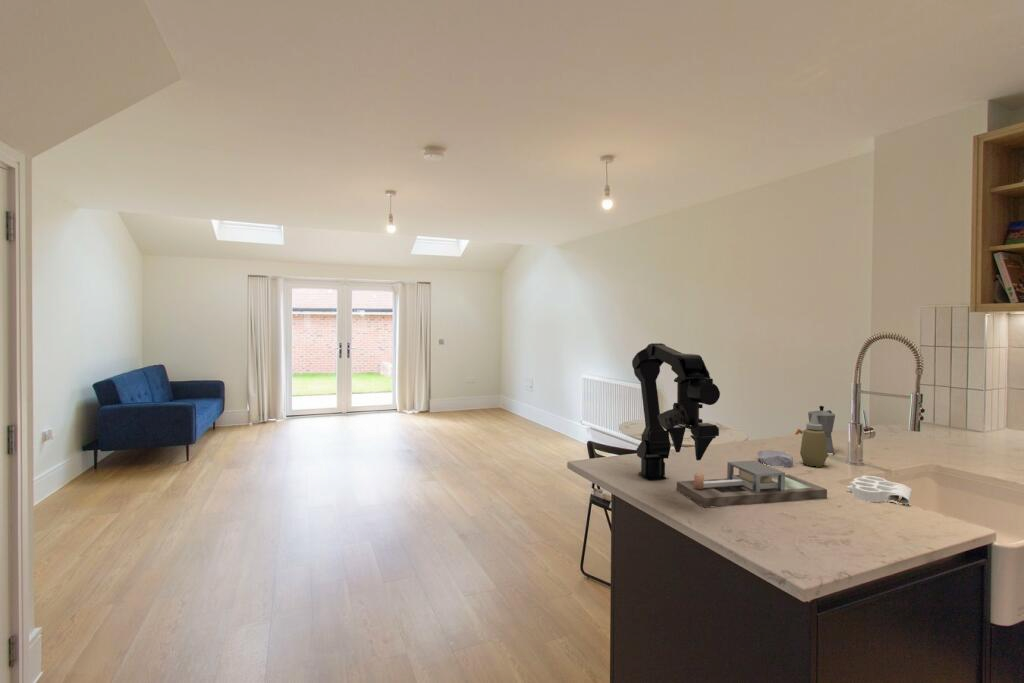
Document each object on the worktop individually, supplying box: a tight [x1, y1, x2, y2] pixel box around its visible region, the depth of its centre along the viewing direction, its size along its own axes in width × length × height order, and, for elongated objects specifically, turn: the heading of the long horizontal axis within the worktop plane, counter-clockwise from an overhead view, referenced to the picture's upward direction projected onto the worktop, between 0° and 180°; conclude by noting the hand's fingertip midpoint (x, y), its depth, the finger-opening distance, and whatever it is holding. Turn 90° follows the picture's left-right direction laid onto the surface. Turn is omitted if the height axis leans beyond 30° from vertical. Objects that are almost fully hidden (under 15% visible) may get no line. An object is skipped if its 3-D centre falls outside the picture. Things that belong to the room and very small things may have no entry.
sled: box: [694, 472, 778, 490], centre depth 137 cm, size 23×8×4 cm, turn 101°
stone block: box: [757, 449, 794, 468], centre depth 171 cm, size 12×5×10 cm
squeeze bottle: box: [799, 414, 828, 468], centre depth 168 cm, size 8×8×18 cm
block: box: [738, 469, 772, 484], centre depth 138 cm, size 6×6×4 cm
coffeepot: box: [807, 405, 836, 454], centre depth 186 cm, size 15×9×18 cm, turn 126°
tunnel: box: [726, 460, 786, 493], centre depth 138 cm, size 9×12×5 cm
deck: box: [676, 474, 828, 508], centre depth 138 cm, size 38×14×2 cm, turn 101°
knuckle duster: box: [845, 475, 913, 506], centre depth 138 cm, size 3×18×15 cm
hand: (687, 456), depth 134 cm, fingers open, 9 cm apart
